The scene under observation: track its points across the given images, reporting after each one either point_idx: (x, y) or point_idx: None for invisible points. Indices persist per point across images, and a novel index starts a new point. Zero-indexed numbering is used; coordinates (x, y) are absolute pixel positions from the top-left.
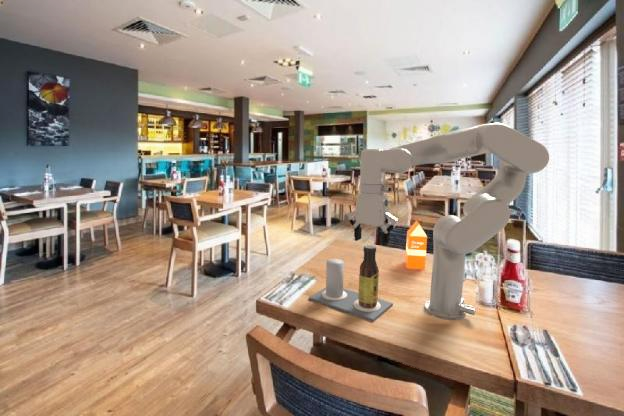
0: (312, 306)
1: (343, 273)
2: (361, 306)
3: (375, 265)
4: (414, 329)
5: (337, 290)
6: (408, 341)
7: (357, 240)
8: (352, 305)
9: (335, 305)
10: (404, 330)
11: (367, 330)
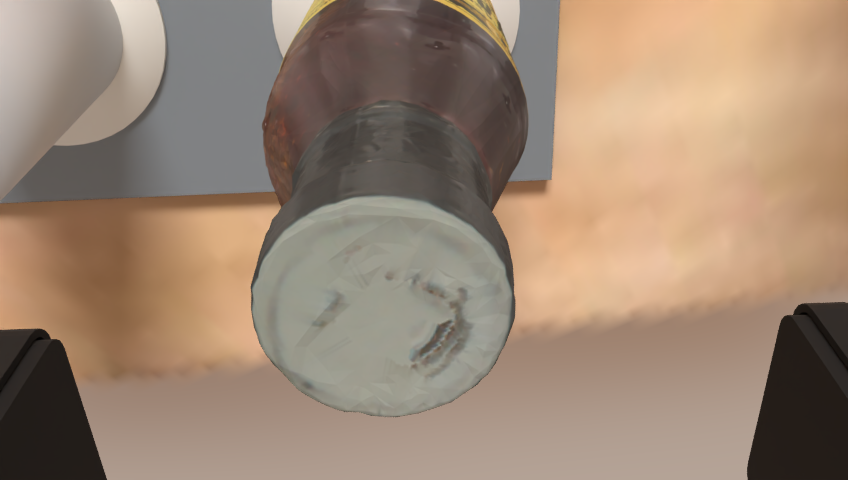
0: (71, 263)
1: (8, 52)
2: None
3: (504, 172)
4: (843, 78)
5: (91, 99)
6: (832, 234)
7: (87, 451)
8: None
9: (202, 183)
10: (780, 135)
11: (565, 282)
